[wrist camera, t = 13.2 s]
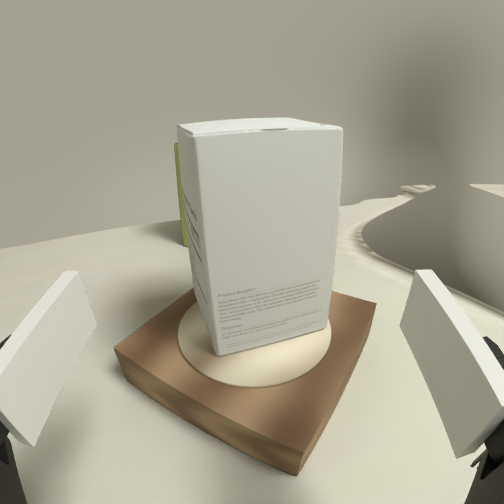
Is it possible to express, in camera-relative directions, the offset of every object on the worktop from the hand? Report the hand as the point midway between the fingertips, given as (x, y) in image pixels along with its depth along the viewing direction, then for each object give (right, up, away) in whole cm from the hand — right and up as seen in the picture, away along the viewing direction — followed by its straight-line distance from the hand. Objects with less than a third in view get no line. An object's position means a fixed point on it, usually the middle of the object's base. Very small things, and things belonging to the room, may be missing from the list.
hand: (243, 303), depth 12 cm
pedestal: (+1, -8, +15) cm, 17 cm away
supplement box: (+1, -3, +15) cm, 15 cm away
